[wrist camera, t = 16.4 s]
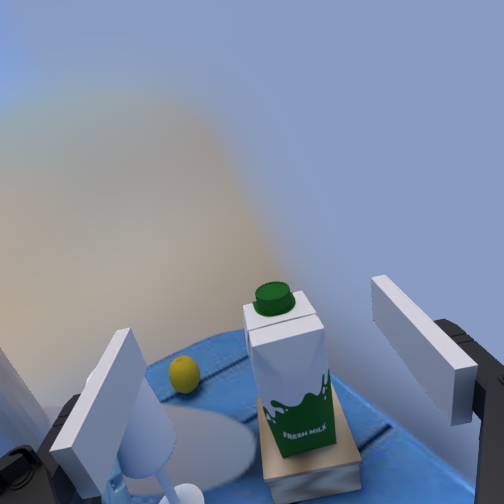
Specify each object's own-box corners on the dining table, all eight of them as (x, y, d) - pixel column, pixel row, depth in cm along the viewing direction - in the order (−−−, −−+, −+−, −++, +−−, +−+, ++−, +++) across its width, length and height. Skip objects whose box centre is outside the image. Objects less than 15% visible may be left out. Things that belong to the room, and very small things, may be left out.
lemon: (208, 378, 60) (197, 346, 57) (199, 402, 55) (187, 369, 52) (182, 379, 61) (170, 348, 58) (171, 403, 56) (158, 370, 53)
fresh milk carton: (321, 390, 45) (303, 272, 37) (347, 449, 37) (331, 312, 29) (263, 406, 45) (233, 289, 37) (277, 469, 36) (241, 335, 29)
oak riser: (272, 509, 38) (263, 479, 36) (263, 424, 49) (256, 397, 46) (364, 491, 38) (362, 460, 35) (335, 410, 48) (331, 382, 46)
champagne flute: (209, 526, 38) (145, 382, 28) (154, 556, 36) (68, 413, 27) (199, 474, 44) (144, 341, 34) (152, 497, 42) (80, 364, 33)
